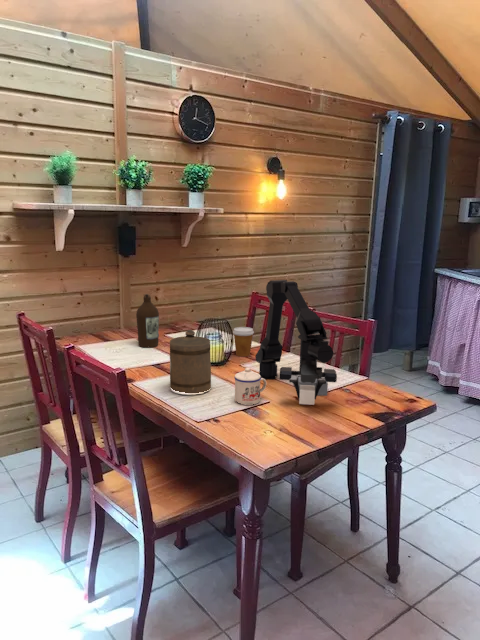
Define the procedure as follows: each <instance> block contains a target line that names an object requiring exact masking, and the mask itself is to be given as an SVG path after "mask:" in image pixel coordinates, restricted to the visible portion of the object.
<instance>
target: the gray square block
mask: <svg viewBox="0 0 480 640" xmlns="http://www.w3.org/2000/svg"><path fill="white" fill-rule="evenodd" d="M316 380H317V379H316ZM298 381H299V392H300V385H315V387H316V382H315V383H311V382H301V377H298ZM328 385H329V382H327V381H326V384H323V385H322V386H321V388H320V390H319V392H318V394H317V396H328Z"/></svg>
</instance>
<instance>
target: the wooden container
mask: <svg viewBox="0 0 480 640" xmlns="http://www.w3.org/2000/svg"><path fill="white" fill-rule="evenodd" d="M195 334H196V333H195V331H194V330H193V329H188V330H186V331H185V335H184V336H178V337H174V338H172V339H169V383H170V384H169V385H170V387H171V388H172V389H173V390H175V391H179V392H185V393H199V392H204V391H207V390H209V389H210V388H211V389H212V365H211V364H212V363H211V340H210V339H209V338H206V337H204V336H195ZM211 389H210V390H211Z"/></svg>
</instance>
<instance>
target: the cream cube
mask: <svg viewBox="0 0 480 640" xmlns="http://www.w3.org/2000/svg"><path fill="white" fill-rule="evenodd" d="M315 400H316V399H315V385H300V396H299V399H298V404H299V405H310V406H311V405H313V406H314V405H315Z"/></svg>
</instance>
